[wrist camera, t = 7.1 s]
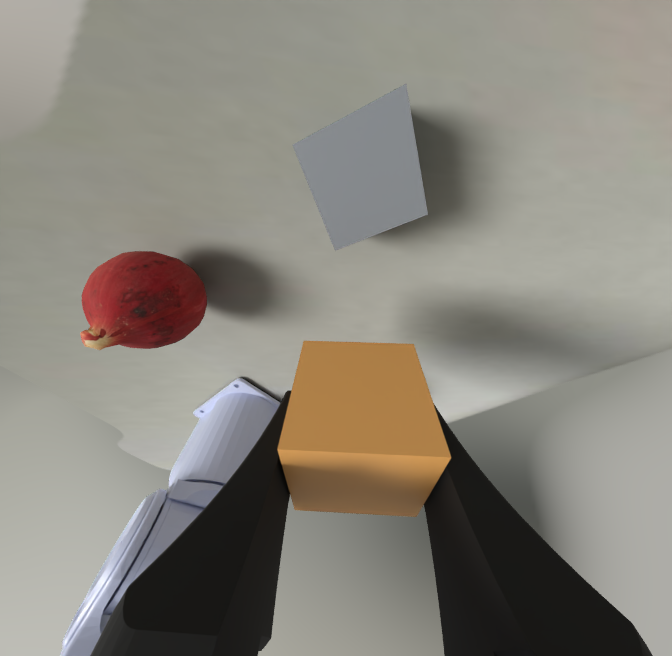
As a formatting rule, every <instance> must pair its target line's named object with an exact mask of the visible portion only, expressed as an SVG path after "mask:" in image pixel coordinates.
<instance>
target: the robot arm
mask: <svg viewBox="0 0 672 656" xmlns="http://www.w3.org/2000/svg"><path fill="white" fill-rule="evenodd" d="M290 395H291V391H287V392H286V393H285V395H284V397H283V399H282V401H281V403H280V402H279V401H277V400H275V399H274V398H272V397H271V396H269V395H268V394H266V393H264V392H263V391H261V390H260V389H258V388H257V387H255V386H253V385H252V384H250V383H249V382H247V381H246V380H244V379H242V378H237V379H236V380H234V381H233V382H232V383H230V384H229V385H228V386H226V387H225V388H224V389H222V390H221V391H220V392H218V393H217V394H216V395H215V396H213V397H212V398H211V399H209V400H208V401H207V402H205V403H204V404H203V405H201V406H200V407H199V408H197V409H196V410H195V411H194V413H193V414H194V415H195V416H196V417H198V418H200V420H199V421H198V423H197V425H196V427H195V428H194V430H193V432H192V434H191V436H190V437H189V439H188V441H187V443H186V444H185V446H184V448H183V450H182V452H181V453H180V455H179V457H178V459H177V460H176V462H175V464H174V466H173V468H172V470H171V473H170V478H169V488H168V489H167V490H164V489H158V490H156V492H154V493H151V494H150V495H148V496H146V497H145V499H144V500H143V501H142V503H141V504H140V506H139V507H138V509H137V510H136V512H135V513H134V515H133V516H132V518H131V519H130V521H129V523H128V524H127V526H126V527H125V529H124V530H123V532H122V534H121V535H120V537H119V539H118V540H117V542H116V544H115V545H114V547H113V549H112V550H111V552H110V554H109V555H108V557H107V559H106V561H105V562H104V564H103V566H102V567H101V569H100V571H99V573H98V574H97V576H96V578H95V580H94V582H93V584H92V585H91V587H90V589H89V591H88V593H87V595H86V597H85V599H84V601H83V602H82V604H81V606H80V607H79V609H78V611H77V613H76V615H75V616H74V618H73V620H72V622H71V624H70V626H69V628H68V630H67V632H66V634H65V636H64V639H63V642H62V644H63V649H62V651H61V653H60V656H257V655H258V651H261V650H262V649H263V648H264V647H265V646H266V644H267V643H268V641H269V640H270V639H271V634H272V625H273V615H274V607H275V598H276V589H277V581H278V574H279V566H280V558H281V551H282V544H283V536H284V529H285V522H286V515H287V508H288V502H289V497H290V492H289V488H288V485H287V481H286V478H285V474H284V471H283V467H282V464H281V460H280V457H279V453H278V450H277V449H278V445H279V441H280V436H281V432H282V428H283V424H284V420H285V416H286V412H287V408H288V404H289V400H290ZM433 404H434V403H433ZM434 407H435V410H436V413H437V416H438V419H439V422H440V425H441V428H442V431H443V434H444V437H445V440H446V443H447V446H448V449H449V452H450V455H451V459H450V461H449V462H448V464H447V466H446V467H445V469H444V471H443V473H442V474H441V476H440V478H439V479H438V481H437V483H436V484H435V486H434V488H433V490H432V491H431V493H430V495H429V496H428V498H427V500H426V501H425V503H424V507H425V512H426V517H427V524H428V530H429V536H430V543H431V549H432V556H433V563H434V569H435V577H436V585H437V593H438V600H439V608H440V617H441V626H442V634H443V644H444V654H445V656H652V654H651V652H650V650H649V649H648V647H647V645H646V644H645V642H644V641H643V639H642V638H641V636H640V635H639V633H638V632H637V630H636V629H635V627H634V625H633V624H632V623H631V622H630V621H629V620H628V619H627V618H626V617H625V616H623V615H622V614H621V613H620V612H619V611H618V610H617V609H616V608H615V607H614V606H613V605H611V604H610V603H609V602H608V601H607V600H606V599H605V598H604V597H603V596H601V595H600V594H599V593H598V592H597V591H596V590H595V589H594V588H593V587H592V586H591V585H590V584H588V583H587V582H586V581H585V580H584V579H583V578H582V577H581V576H580V575H579V574H578V573H577V572H576V571H575V570H574V569H573V568H572V567H571V566H570V565H569V564H568V563H567V562H565V560H563V559H562V558H561V557H560V556H559V555H558V554H557V553H556V552H555V551H554V550H553V549H552V548H551V547H550V546H549V545H548V544H547V543H546V542H545V541H544V540H543V539H542V538H541V536H539V535H538V533H537V532H536V531H535V530H534V529H533V528H532V527H531V526H530V525H529V524H528V523H527V522H526V521H525V520H524V519H523V518H522V517H521V516H520V515H519V514H518V513H517V511H516V510H515V509H514V508H513V507H512V506H511V505H510V504H509V503H508V502H507V501H506V499H505V498H504V497H503V496H502V495H501V494H500V493H499V491H498V490H497V489H496V488H495V487H494V486H493V484H492V483H491V482H490V481H489V480H488V478H487V477H486V476H485V475H484V473H483V472H482V471H481V470H480V468H479V467H478V466H477V465H476V463H475V462H474V461H473V460H472V458H471V457H470V456H469V454H468V453H467V452H466V450H465V449H464V448H463V446H462V445H461V443H460V442H459V441H458V439H457V438H456V436H455V435H454V434H453V432H452V431H451V429H450V428H449V426H448V425H447V423H446V422H445V420H444V419H443V417H442V416H441V414H440V413H439V411H438V410H437V408H436V406H435V405H434Z"/></svg>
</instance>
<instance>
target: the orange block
mask: <svg viewBox="0 0 672 656" xmlns="http://www.w3.org/2000/svg"><path fill="white" fill-rule="evenodd" d="M277 450H278V453H279V457H280V460H281V464H282V467H283V471H284V474H285V478H286V481H287V485H288V488H289V492H290V495H291V498H292V502H293V505H294V509H295V510H303V511H320V512H338V513H356V514H373V515H374V514H375V515H392V516H411V517H416V516H417V515H418V513H419V512H420V510H421V508H422V507H423V505H424V503H425V501H426V500H427V498H428V496H429V495H430V493H431V491H432V490H433V488H434V486H435V484H436V483H437V481H438V479H439V478H440V476H441V474H442V473H443V471H444V469H445V467H446V466H447V464H448V462H449V461H450V459H451V455H450V452H449V449H448V446H447V443H446V440H445V437H444V434H443V431H442V428H441V425H440V422H439V419H438V416H437V413H436V410H435V407H434V404H433V401H432V398H431V395H430V392H429V389H428V386H427V383H426V380H425V377H424V374H423V371H422V368H421V365H420V362H419V359H418V356H417V353H416V350H415V347H414V344H395V343H361V342H327V341H304V342H303V346H302V350H301V354H300V359H299V363H298V367H297V371H296V375H295V379H294V383H293V387H292V391H291V395H290V400H289V404H288V408H287V412H286V416H285V420H284V424H283V428H282V432H281V436H280V441H279V445H278V449H277Z"/></svg>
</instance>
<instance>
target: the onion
mask: <svg viewBox="0 0 672 656" xmlns="http://www.w3.org/2000/svg"><path fill="white" fill-rule="evenodd" d="M82 306H83V310H84V313H85V316H86V318H87V321H88V323H89V324H90V326H91V327H90V328H89V329H88V330H84V331H83V332H81V333H80V334H81V338H82V342H83V344H84V345H85V347H91V348H95V349H98V350H101V349H103V348H106V347H110V346H114V345H122V346H126V347H130V348H144V349H151V348H158V347H162V346H165V345H169V344H172V343H176V342H178V341H180V340H181V339H183V338H185V337H186V336H187V335H188V334H189V333H191V332H192V331H193V330H194V329H195V328H196V327H197V326H198V325H199V324H200V323H201V321H202V319H203V317H204V314H205V310H206V306H207V296H206V291H205V287H204V283H203V282H202V281H201V279H200V278H199V276H198V275H197V274H196V272H195V271H194V270H193V269H192V268H190V267H189V266H188V265H186V264H185V263H183V262H182V261H180V260H179V259H176V258H173V257H170V256H167V255H163V254H160V253H156V252H147V251H134V252H127V253H122V254H120V255H118V256H116V257H114V258H112V259H110V260H108V261H107V262H105V263H103V264H102V265H100V266H99V267H97V268H96V269H95V270H94V272H93V273H92V274H91V275H90V277H89V279H88V281H87V283H86V285H85V287H84V290H83V293H82Z"/></svg>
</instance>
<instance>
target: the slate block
mask: <svg viewBox="0 0 672 656" xmlns="http://www.w3.org/2000/svg"><path fill="white" fill-rule="evenodd" d="M293 148H294V150H295V153H296V155H297V158H298V160H299V163H300V165H301V167H302V170H303V172H304V175H305V177H306V180H307V182H308V185H309V187H310V190H311V192H312V195H313V197H314V200H315V202H316V205H317V207H318V209H319V212H320V214H321V217H322V219H323V222H324V224H325V227H326V229H327V232H328V234H329V237H330V239H331V242H332V244H333V247H334V249H335V250H338V249H341V248H343V247H346V246H348V245H351V244H353V243H356V242H359V241H361V240H364V239H366V238H369V237H371V236H374V235H377V234H379V233H382V232H384V231H387V230H389V229H392V228H395V227H397V226H400V225H402V224H405V223H407V222H410V221H413V220H415V219H418V218H420V217H423V216H425V215H428V212H427V206H426V200H425V194H424V188H423V182H422V176H421V170H420V164H419V158H418V152H417V146H416V140H415V134H414V128H413V122H412V116H411V110H410V104H409V98H408V92H407V86H406V84H404V85H403V86H401V87H399V88H397V89H395V90H393V91H391V92H390V93H388V94H386V95H384V96H382V97H380V98H378V99H377V100H375V101H373V102H371V103H369V104H367V105H365V106H364V107H362V108H360V109H358V110H356V111H354V112H352V113H351V114H349V115H347V116H345V117H343V118H341V119H339V120H338V121H336V122H334V123H332V124H330V125H328V126H326V127H325V128H323V129H321V130H319V131H317V132H315V133H313V134H312V135H310V136H308V137H306V138H304V139H302V140H300V141H299V142H297V143H295V144H293Z"/></svg>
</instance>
